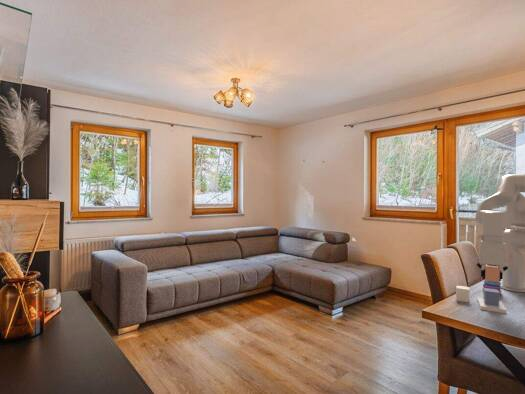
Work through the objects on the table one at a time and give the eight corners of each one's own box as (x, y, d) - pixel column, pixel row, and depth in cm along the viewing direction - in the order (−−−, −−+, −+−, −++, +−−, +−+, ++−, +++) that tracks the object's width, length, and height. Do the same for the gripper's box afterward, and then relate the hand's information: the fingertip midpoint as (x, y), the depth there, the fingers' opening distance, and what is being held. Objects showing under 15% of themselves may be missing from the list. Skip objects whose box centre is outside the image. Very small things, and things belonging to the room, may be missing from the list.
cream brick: (456, 297, 150) (456, 285, 150) (468, 299, 148) (468, 286, 147) (456, 300, 146) (456, 288, 146) (469, 302, 143) (469, 289, 143)
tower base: (477, 300, 145) (477, 285, 145) (501, 304, 141) (501, 288, 141) (480, 309, 135) (480, 292, 135) (506, 313, 131) (506, 296, 130)
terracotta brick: (483, 278, 141) (484, 265, 141) (497, 279, 138) (497, 266, 138) (485, 280, 137) (485, 267, 136) (499, 282, 134) (499, 268, 134)
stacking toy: (505, 294, 154) (506, 257, 154) (489, 294, 154) (490, 257, 154) (494, 289, 162) (494, 254, 161) (478, 289, 162) (479, 254, 162)
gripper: (470, 238, 138) (469, 278, 138) (518, 242, 130) (517, 284, 130) (468, 236, 145) (467, 274, 145) (514, 239, 136) (513, 280, 137)
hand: (491, 279), depth 138 cm, fingers closed on terracotta brick, 5 cm apart
